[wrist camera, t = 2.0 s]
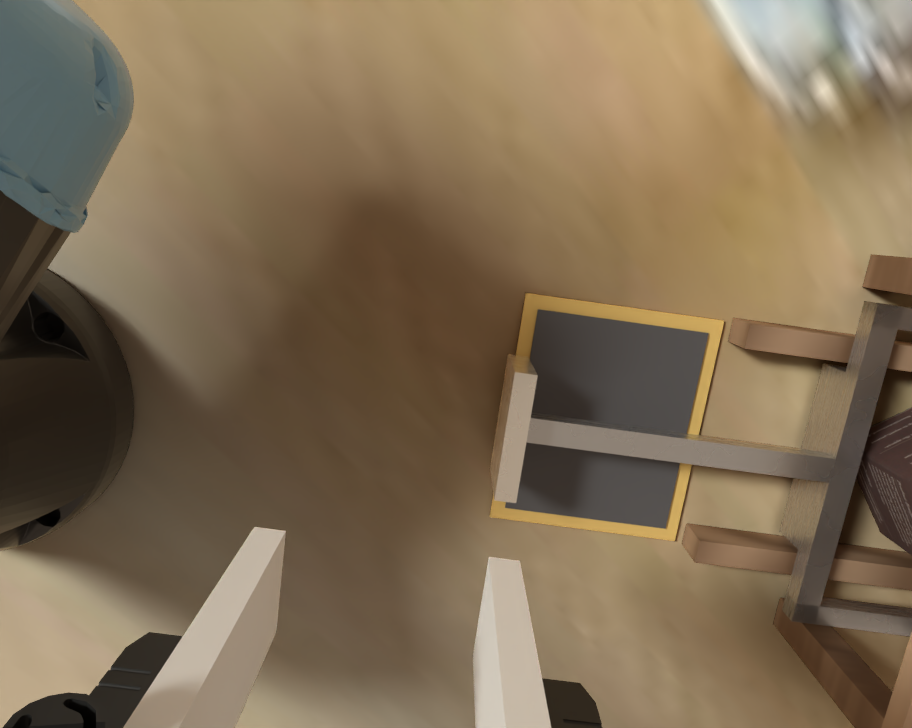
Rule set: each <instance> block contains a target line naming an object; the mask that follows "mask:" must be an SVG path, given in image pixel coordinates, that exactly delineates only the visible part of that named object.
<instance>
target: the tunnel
mask: <svg viewBox="0 0 912 728" xmlns="http://www.w3.org/2000/svg"><path fill="white" fill-rule="evenodd" d="M863 287H866V288H872V289H878V290H884V291H890V292H896V293H902V294H908V295H912V258H906V257H894V256H883V255H871V257H870V261H869V265H868V268H867V272H866V276H865V280H864V283H863ZM854 339H855V335H852V334H845V333H838V332H831V331H824V330H817V329H810V328H802V327H795V326H788V325H781V324H774V323H767V322H760V321H752V320H745V319H738V318H733V322H732V326H731V331H730V335H729V339H728V341H729V342H731V343H733V344H735V345H738V346H740V347H742V348H744V349H751V350H758V351H765V352H772V353H780V354H787V355H794V356H801V357H808V358H816V359H823V360H830V361H837V362H844V363H848V361H849V358H850V354H851V350H852V346H853V343H854ZM887 368H888V369H895V370H902V371H909V372H912V343H909V342H902V341H894V344H893V348H892V351H891V355H890V359H889V362H888V366H887ZM682 545H683V546H684V548H685V549H686V550H687V552H688V553H689V555H690V556H691V558H692V559H693V561H694V562H696V563H704V564H711V565H719V566H727V567H735V568H742V569H750V570H758V571H766V572H773V573H781V574H789V575H791V574H792V571H793V567H794V563H795V559H796V556H797V552H798V549H797V548H796V547H795V546H794V545H793V544H792V543H791V542H790V541H789V540H788V539H787V538H786V537H785V536H779V535H771V534H764V533H756V532H748V531H741V530H733V529H725V528H718V527H710V526H702V525H695V524H686V528H685V533H684V537H683V541H682ZM828 580H835V581H843V582H851V583H859V584H867V585H874V586H882V587H890V588H898V589H905V590H912V555H910V554H909V553H908V552H902V551H894V550H886V549H879V548H871V547H863V546H856V545H848V544H840V543H838V544H837V548H836V551H835V555H834V558H833V562H832V565H831V569H830V573H829V576H828ZM784 600H785V598H780V599H779V603H778V607H777V611H776V615H775V618H774V622H773V624H774V625H775V627H776V628H777V629H778V630H779V632H780V633H781V634H782V636H783V637H784V638H785V639H786V641H787V642H788V643H789V644H790V646H791V647H792V648H793V650H794V651H795V652H796V653H797V655H798V656H799V657H800V658H801V660H802V661H803V662H804V664H805V665H806V666H807V667H808V669H809V670H810V671H811V672H812V674H813V675H814V676H815V678H816V679H817V680H818V681H819V683H820V684H821V685H822V687H823V688H824V689H825V690H826V692H827V693H828V694H829V695H830V697H831V698H832V699H833V701H834V702H835V703H836V704H837V706H838V707H839V708H840V709H841V711H842V712H843V713H844V715H845V716H846V717H847V718H848V720H849V721H850V722H851V723H852V725H853V726H854V727H855V728H912V632H911V635H910V639H909V642H908V645H907V648H906V651H905V654H904V658H903V661H902V664H901V667H900V670H899V673H898V677H897V680H896V683H895V686H894V689H893V692H892V691H891V690H890V689H889V688H888V687H887V686H886V685H885V684H884V683H883V682H882V681H881V679H880V678H879V677H878V676H877V675H876V674H875V673H874V672H873V671H872V670H871V669H870V668H869V666H868V665H867V664H866V663H865V662H864V661H863V660H862V659H861V658H860V657H859V656H858V655H857V653H856V652H855V651H854V650H853V649H852V648H851V647H850V646H849V645H848V644H847V643H846V642H845V640H844V639H843V638H842V637H841V636H840V635H839V634H838V633H837V632H836V631H835V630H834V629H833V627H832V626H824V625H816V624H808V623H800V622H792V621H791V620H790V619H789V618H788V617H787V615H786V614H785V613H784V612H783V611H782V608H783V604H784Z"/></svg>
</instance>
